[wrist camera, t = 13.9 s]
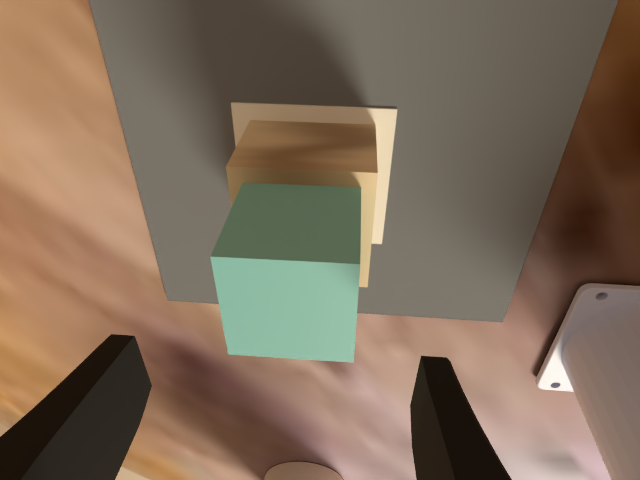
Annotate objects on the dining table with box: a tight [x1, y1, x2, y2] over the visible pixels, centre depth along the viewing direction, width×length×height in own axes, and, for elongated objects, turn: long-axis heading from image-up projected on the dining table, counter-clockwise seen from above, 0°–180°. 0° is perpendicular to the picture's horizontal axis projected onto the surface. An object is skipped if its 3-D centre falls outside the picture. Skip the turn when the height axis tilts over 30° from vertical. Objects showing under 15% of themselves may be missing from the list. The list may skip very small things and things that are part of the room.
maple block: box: [226, 120, 378, 287], centre depth 18 cm, size 5×5×4 cm
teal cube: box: [210, 183, 361, 363], centre depth 15 cm, size 4×4×4 cm
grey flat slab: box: [89, 0, 618, 322], centre depth 19 cm, size 18×18×1 cm
